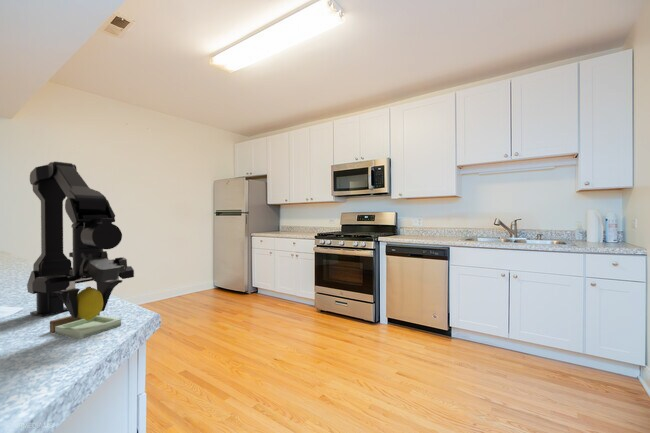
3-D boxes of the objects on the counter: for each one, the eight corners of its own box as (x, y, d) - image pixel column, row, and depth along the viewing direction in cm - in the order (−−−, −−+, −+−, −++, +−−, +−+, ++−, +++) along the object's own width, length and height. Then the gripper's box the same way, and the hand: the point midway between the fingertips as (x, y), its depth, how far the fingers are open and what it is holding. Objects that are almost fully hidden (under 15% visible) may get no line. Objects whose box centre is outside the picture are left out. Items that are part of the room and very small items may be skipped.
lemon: (87, 325, 70) (87, 289, 70) (67, 324, 71) (67, 289, 71) (109, 317, 75) (109, 284, 75) (90, 316, 76) (89, 283, 76)
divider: (49, 332, 71) (49, 321, 71) (96, 318, 81) (96, 309, 81) (52, 332, 71) (52, 321, 71) (99, 319, 80) (99, 309, 80)
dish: (55, 333, 71) (55, 326, 71) (97, 321, 79) (97, 315, 79) (79, 338, 67) (79, 331, 67) (121, 325, 75) (121, 319, 75)
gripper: (61, 253, 61) (62, 332, 61) (148, 245, 78) (149, 307, 78) (30, 251, 66) (31, 325, 66) (119, 244, 83) (120, 303, 83)
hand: (88, 314), depth 73 cm, fingers closed on lemon, 5 cm apart
